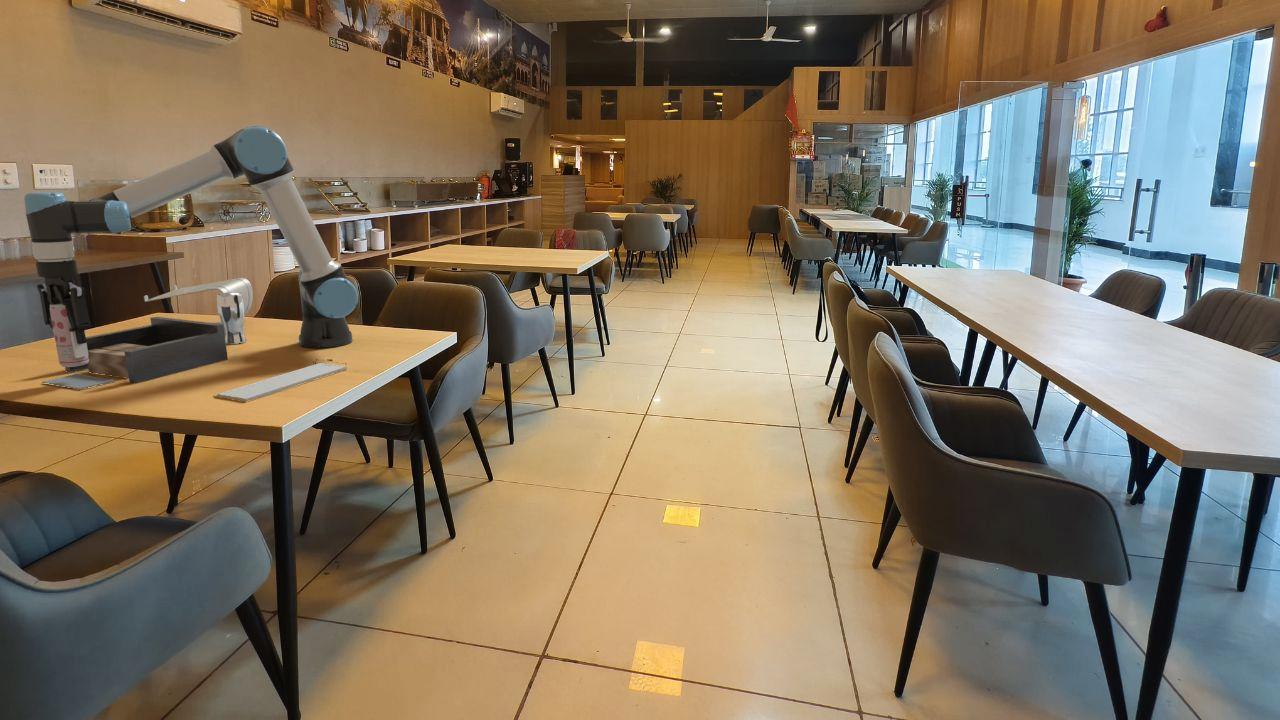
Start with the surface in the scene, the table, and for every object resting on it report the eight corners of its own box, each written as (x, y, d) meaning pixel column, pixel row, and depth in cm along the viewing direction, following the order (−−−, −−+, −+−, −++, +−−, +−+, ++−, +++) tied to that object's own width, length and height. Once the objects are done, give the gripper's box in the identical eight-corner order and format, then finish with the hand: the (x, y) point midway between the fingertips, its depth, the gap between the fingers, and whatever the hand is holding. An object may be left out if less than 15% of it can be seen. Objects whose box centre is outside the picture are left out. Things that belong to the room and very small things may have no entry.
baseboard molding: (209, 398, 170) (246, 405, 166) (207, 386, 169) (245, 393, 165) (313, 367, 198) (347, 372, 194) (312, 356, 197) (346, 361, 193)
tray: (227, 359, 202) (223, 324, 199) (135, 383, 178) (128, 344, 176) (162, 350, 211) (157, 316, 208) (65, 372, 187) (58, 334, 185)
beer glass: (252, 341, 223) (247, 293, 219) (230, 346, 217) (223, 296, 213) (240, 338, 227) (234, 291, 223) (217, 342, 221) (211, 294, 217)
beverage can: (64, 368, 173) (52, 306, 170) (56, 364, 177) (45, 303, 173) (92, 364, 178) (82, 303, 174) (84, 360, 181) (73, 300, 177)
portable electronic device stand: (230, 337, 228) (224, 288, 225) (148, 339, 224) (140, 289, 221) (257, 321, 253) (252, 277, 249) (183, 323, 249) (176, 277, 245)
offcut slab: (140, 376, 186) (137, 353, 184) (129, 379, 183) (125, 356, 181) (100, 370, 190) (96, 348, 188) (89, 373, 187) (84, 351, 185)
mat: (114, 381, 180) (114, 380, 179) (80, 390, 172) (79, 388, 172) (77, 375, 184) (76, 373, 184) (42, 383, 177) (41, 381, 177)
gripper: (98, 260, 171) (114, 355, 177) (47, 255, 177) (64, 348, 183) (64, 263, 164) (82, 362, 170) (12, 259, 171) (31, 354, 176)
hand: (73, 355), depth 177 cm, fingers closed on beverage can, 6 cm apart
